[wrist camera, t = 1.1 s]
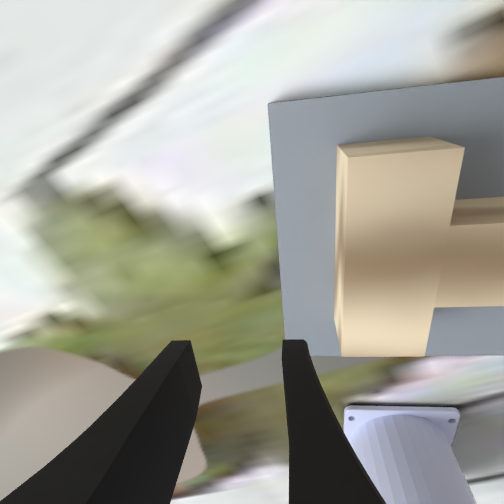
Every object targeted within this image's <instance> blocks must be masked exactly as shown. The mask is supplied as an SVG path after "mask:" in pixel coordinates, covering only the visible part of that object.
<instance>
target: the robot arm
mask: <svg viewBox="0 0 504 504" xmlns="http://www.w3.org/2000/svg"><path fill="white" fill-rule="evenodd" d="M282 367H283V379H284V391H285V403H286V414H287V426H288V437H289V504H477V503H476V501H475V498H474V496H473V494H472V492H471V490H470V487H469V485H468V483H467V481H466V479H465V477H464V474H463V472H462V470H461V468H460V466H459V463H458V461H457V459H456V457H455V455H454V453H453V450H452V448H451V446H452V443H453V439H454V436H455V433H456V429H457V426H458V422H459V419H460V413H459V411H458V409H456V408H453V407H408V406H353V405H351V406H347V407H346V408H345V409H344V430H342V428H341V426H340V424H339V422H338V420H337V418H336V416H335V414H334V412H333V410H332V408H331V406H330V404H329V402H328V399H327V397H326V395H325V393H324V391H323V388H322V386H321V384H320V381H319V379H318V377H317V374H316V371H315V369H314V366H313V363H312V360H311V357H310V353H309V349H308V344H307V342H306V341H305V340H304V339H286V340H283V346H282ZM201 389H202V384H201V381H200V377H199V373H198V369H197V365H196V361H195V357H194V353H193V349H192V345H191V341H190V340H184V341H171V342H170V343H169V344H168V345H167V346H166V347H165V348H164V350H163V351H162V352H161V353H160V354H159V355H158V356H157V357H156V358H155V359H154V360H153V362H152V363H151V364H150V365H149V366H148V367H147V368H146V369H145V370H144V371H143V373H142V374H141V375H140V376H139V377H138V378H137V379H136V380H135V381H134V382H133V383H132V384H131V385H130V386H129V388H128V389H127V390H126V391H125V392H124V393H123V394H122V395H121V396H120V397H119V398H118V399H117V400H116V401H115V402H114V403H113V404H112V405H111V406H110V407H109V408H108V409H107V410H106V411H105V412H104V413H103V414H102V415H101V416H100V417H99V418H98V419H97V420H96V421H95V422H94V423H93V424H92V425H91V426H90V427H89V428H88V429H87V430H86V431H84V432H83V433H82V434H81V435H80V436H79V437H78V438H77V439H76V440H75V441H74V442H72V443H71V444H70V445H69V446H68V447H67V448H65V449H64V450H63V451H62V452H61V453H60V454H58V455H57V456H56V457H55V458H54V459H53V460H52V461H50V462H49V463H48V464H47V465H46V466H45V467H44V468H42V469H41V470H40V471H38V472H37V473H36V474H34V475H33V476H32V477H31V478H29V479H28V480H27V481H25V482H24V483H23V484H22V485H21V486H19V487H18V488H17V489H15V490H14V491H13V492H12V493H10V494H9V495H8V496H6V497H5V498H4V499H3V500H1V501H0V504H170V501H171V498H172V495H173V492H174V488H175V485H176V482H177V478H178V475H179V472H180V469H181V465H182V463H183V459H184V456H185V453H186V450H187V446H188V443H189V440H190V437H191V433H192V430H193V427H194V423H195V420H196V415H197V410H198V405H199V400H200V394H201Z"/></svg>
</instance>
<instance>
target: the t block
mask: <svg viewBox="0 0 504 504" xmlns="http://www.w3.org/2000/svg"><path fill="white" fill-rule="evenodd" d="M464 149H465V147H462V146H459V145H456V144H453V143H449V142H446V141H443V140H440V139H437V138H434V137H431V136H429V137H418V138H407V139H397V140H386V141H375V142H364V143H353V144H342V145H337V169H336V230H335V292H334V321H335V326H336V331H337V336H338V341H339V345H340V350H341V355H342V357H346V356H347V357H350V356H351V357H353V356H354V357H355V356H356V357H358V356H360V357H362V356H363V357H364V356H425V352H426V347H427V341H428V336H429V331H430V326H431V321H432V315H433V310H434V308H436V307H481V306H504V197H491V198H475V199H460V200H455V196H456V191H457V186H458V181H459V175H460V170H461V165H462V160H463V155H464Z"/></svg>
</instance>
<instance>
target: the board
mask: <svg viewBox="0 0 504 504" xmlns="http://www.w3.org/2000/svg"><path fill="white" fill-rule="evenodd" d="M268 115H269V128H270V142H271V155H272V169H273V182H274V195H275V209H276V222H277V235H278V249H279V262H280V276H281V289H282V302H283V316H284V329H285V340H286V339H304V340H305V341H306V342H307V344H308V349H309V353H310V356H342V355H341V350H340V345H339V341H338V336H337V331H336V326H335V321H334V292H335V230H336V169H337V145H342V144H353V143H364V142H375V141H386V140H397V139H407V138H418V137H429V136H431V137H434V138H437V139H440V140H443V141H446V142H449V143H453V144H456V145H459V146H462V147H465V149H464V155H463V160H462V165H461V170H460V175H459V181H458V186H457V191H456V196H455V200H460V199H475V198H491V197H504V77H496V78H487V79H478V80H469V81H460V82H452V83H443V84H434V85H425V86H416V87H407V88H398V89H390V90H381V91H372V92H363V93H354V94H345V95H337V96H328V97H319V98H310V99H301V100H292V101H283V102H275V103H269V104H268ZM486 355H504V306H481V307H436V308H434V310H433V315H432V321H431V326H430V331H429V336H428V341H427V347H426V352H425V356H486Z"/></svg>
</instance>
